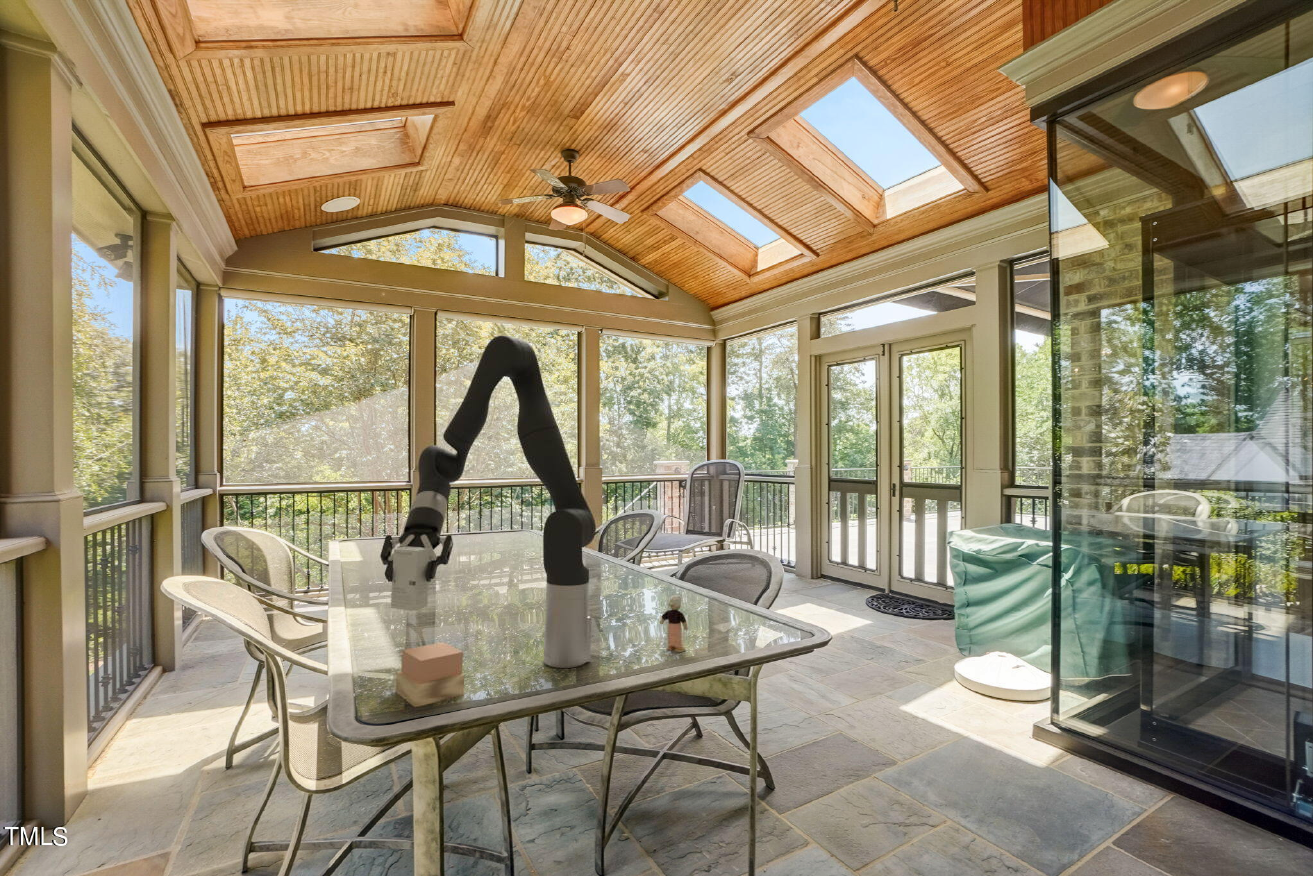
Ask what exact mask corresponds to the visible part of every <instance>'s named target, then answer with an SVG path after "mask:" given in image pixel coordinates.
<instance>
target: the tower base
mask: <svg viewBox="0 0 1313 876" xmlns="http://www.w3.org/2000/svg"><path fill="white" fill-rule="evenodd" d="M395 682H396V683H395V693H396V692H397V693H396V694H398V695H399V694H400V695H401V696H402V697H401V696H400V695H399V696H400V697H401V698H403V699H404V700H405V699H406V700H405V701H406V702H407V703H408V704H410V705H411V706H412V707H414V708H416V707H422V706H425V705H429V704H432V703H436V702H437V703H438V702H441V701H444V700H449V699H453V698H456V697H460V696H464V691H465V674H464V673H462V674H459V675H455V676H451V677H446V678H442V679H438V680H434V681H429V682H425V683H421V684H419V683H418V682H416V681H415V680H413V679H412V678H410V677H408V676H407V675H405V674H404V673H402V672H401V670H400V671H397V672H396V680H395Z"/></svg>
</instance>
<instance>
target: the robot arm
mask: <svg viewBox="0 0 1313 876" xmlns="http://www.w3.org/2000/svg"><path fill="white" fill-rule="evenodd" d="M539 365H540V364H539V360H538V358H537V354H536V351H535V350H534V348H533V346H532V345H531V344H530V343H528V342H527V341H525V340H522V339H519V338H516V337H512V336H509V335H504V334H503V335H497V336H494V337H493V338H491V339H490V341H489V342H488V343H487V344H486V346H485V348H484V350H483V352H482V355H481V357H480V359H479V362H478V365H477V368H476V370H475V372H474V374H473V377H472V379H471V382H470V385H469V387H468V389H467V391H466V393H465V396H464V398H463V400H462V402H461V404H460V405H459V407H458V409H457V411H456V413H455V414H454V416H453V417H452V419H451V421H450V422H449V424H448V425H447V427H446V429H445V430H444V432H443V434H442V435H443V440H444V441H445V443H446V444H448V446H449V447H451V448H452V449H454V450H455V451H456V453H453V452H451V451H450V450H447V449H446V448H443V447H440V446H438V445H429V446H427V447H425V448H424V449H423V450H422V452H421V453H420V455H419V457H418V477H419V479H418V480H419V481H418V482H419V483H418V488H417V491H416V495H415V496H414V497H415V498H414V500H413V502H412V504H411V506H410V510H409V513H408V516H407V519H406V522H405V524H404V529H403V533H402V534H401V535H399V537H392V535H391V534H387V535H386V536H385V538H384V541H383V545H382V548H381V552H380V555H379V556H380V560H381V562H382V565H383V566H386V568H385V571H384V576H385V579H386V580H387V582H388V583H392V576H393V558H394V552H393V551H394V549H397V548H401V547H407V546H409V547H422V548H430V561H429V563H428V567H427V571H426V574H425V578H426V581H427V582H432V580H434V579H435V577H436V572H437V570H438V567H439V566H440V565H443V566H446V565H447V564H449V561H450V557H451V554H452V550H453V547H454V540H453V536H452V535H451V534H449V535H446V536H445V537H442V536H441V534H442V530H443V526H444V522H445V520H446V515H447V507H448V502H449V499H450V495H451V490H452V488H451V484H452V483H455V482H457V481H458V480H460V479H461V477H462V475H463V473H464V470H465V466H466V463H467V458H468V456H469V453H470V450H471V447H472V446H473V444H474V442H475V440H476V439H477V438H478V436H479V435H480V433H481V432H482V429H484V426H485V425H486V422H487V418H488V415H489V406H490V402H491V398H492V395H493V392H494V390H495V389H496V387H497V386H498V384H499V383H500V382H501V381H502V380H503V378H509V380H510V381H511V383H512V385H513V389H514V391H515V394H516V397H517V402H518V415H517V427H516V432H517V436H518V437H517V438H518V440H519V443H520V446H521V449H522V450H521V451H522V452H523V455H524V458H525V461H526V462H527V463H528V465H529V467H530V469H531V470H532V471H533V473H534V474H535V475H536V477H537V478H538V479H539V480H540V482H541V483H542V485H543V486H544V487H545V489H546V490H547V492H548V494H549V496H550V498H551V500H552V504H553V507H554V510H555V511H553V512H551V513H550V514H549V515H548V516H547V518H546V520H545V522H544V526H543V533H542V535H543V537H542V548H543V549H542V551H543V552H542V554H543V555H542V557H543V558H542V559H543V563H542V564H543V569H544V571H545V575H546V583H545V584H546V585H545V586H546V589H545V591H546V592H545V617H544V618H545V620H544V642H543V643H544V644H543V646H544V647H543V648H544V649H543V663H544V664H545V665H546V666H549V667H552V668H561V669H565V668H566V669H567V668H568V669H569V668H575V667H580V666H582V665H585V664H586V663H589V662H591V646H592V617H591V616H589V594H590V593H589V590H590V589H589V588H590V571H589V568H588V567H587V566H585V565H584V562H583V561H584V560H583V548H586V547H587V546H589V545H590V544H591V543H592V542H593V540H594V539H595V536H596V533H597V532H596V529H597V528H596V527H597V526H596V522H595V521H596V520H595V517H594V515H593V513H592V511H591V509H590V507H589V505H588V503H587V500H586V499H585V497H584V493H583V492H582V490H581V488H580V485H579V484H578V483H579V482H578V480H577V478H576V475H575V472H574V470H573V465H572V464H571V460H570V457H569V454H568V451H567V448H566V446H565V443H564V442H565V441H564V439H563V436H562V433H561V431H560V428H559V426H558V423H557V421H556V418H555V416H554V412H553V410H552V407H551V404H550V401H549V398H548V395H547V393H546V390H545V386H544V383H543V379H542V374H541V370H540V369H541V368H540V366H539ZM440 545H441V546H442V549H441V552H440V555H436V553H435V551H434V550H435V549H436V548H437V547H438V546H440ZM392 552H393V553H392Z"/></svg>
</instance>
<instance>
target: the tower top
mask: <svg viewBox="0 0 1313 876" xmlns="http://www.w3.org/2000/svg"><path fill="white" fill-rule="evenodd" d="M401 652H402V654H401V655H402V656H401V670H400V671H401V672H402V673H404V674H405V675H407V676H408V677H410V678H412V679H413V680H415V681H416V682H418V683H419V684H421V683H425V682H429V681H434V680H438V679H442V678H446V677H451V676H455V675H459V674H463V663H464V662H463V661H464V660H463V657H464V652H463V651H462V650H460V649H458V648H456V647H454V646H452V645H450V644H448V643H445V642H443V641H442V642H438V643H432V644H427V645H423V646H418V647H411V648H408V649H406V648H405V649H402V651H401Z"/></svg>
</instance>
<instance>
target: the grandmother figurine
mask: <svg viewBox="0 0 1313 876" xmlns="http://www.w3.org/2000/svg"><path fill="white" fill-rule="evenodd" d="M681 603H682V597H681V595H678V594H673V595H672V596H671V597H669V598H668V600H667V603H666V604H667V605H668V606H669V607H670V609H669V610H666V611H665V612H664V613H663V614H662V615H661V618H660V622H659V623H660V625H665V621H668V625H667V645H668V646H667V647H666V651H673V650H674V652H676V653H681V652H685V651H686V648H685V647H684V646H683V641H682V640H683V637H682V636H683V635H682V629H683V631H688V629H689V627H688V623H687V619H686V616H685V614H684V613H683V612H682V611H679V610H680V608H681V605H682V604H681ZM682 627H683V628H682Z"/></svg>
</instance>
